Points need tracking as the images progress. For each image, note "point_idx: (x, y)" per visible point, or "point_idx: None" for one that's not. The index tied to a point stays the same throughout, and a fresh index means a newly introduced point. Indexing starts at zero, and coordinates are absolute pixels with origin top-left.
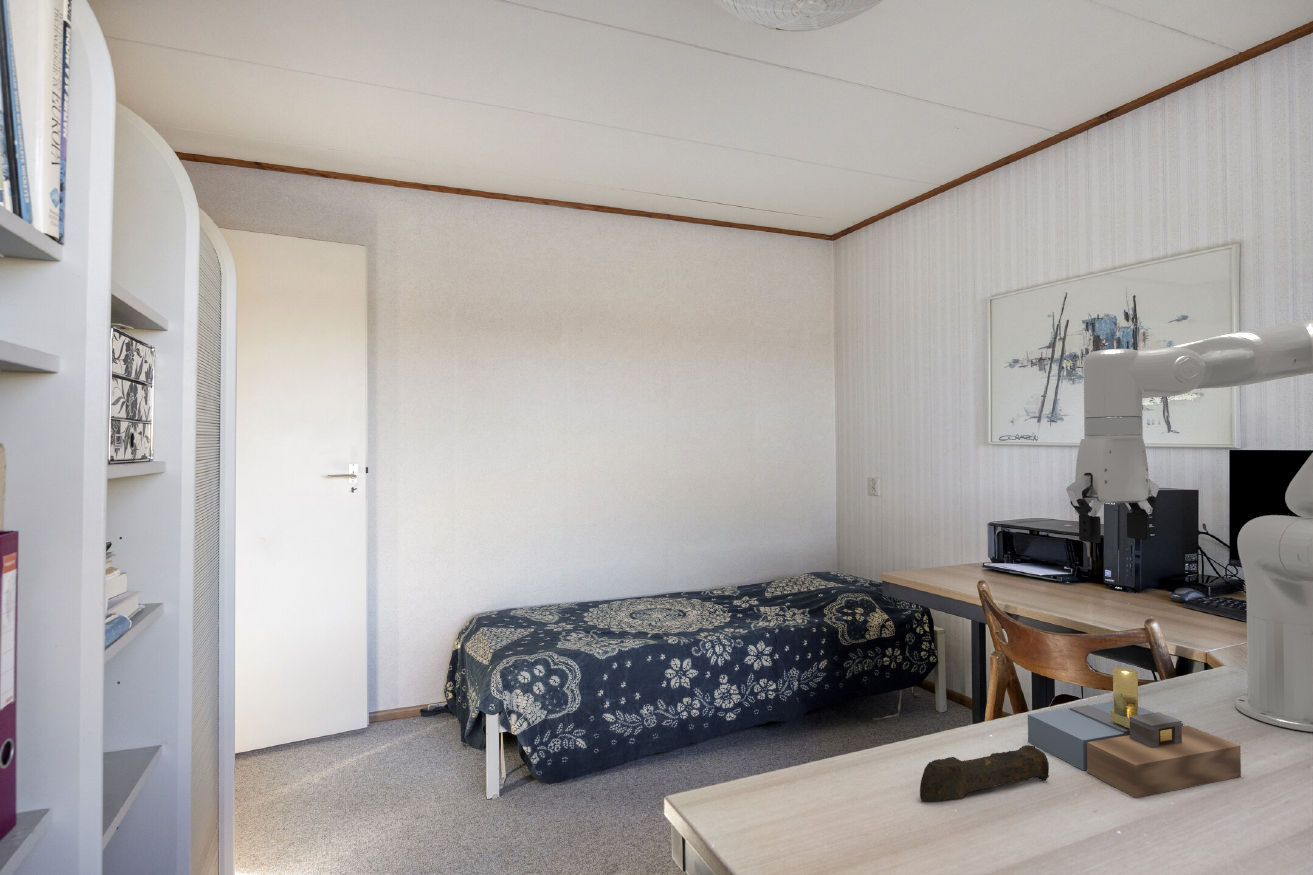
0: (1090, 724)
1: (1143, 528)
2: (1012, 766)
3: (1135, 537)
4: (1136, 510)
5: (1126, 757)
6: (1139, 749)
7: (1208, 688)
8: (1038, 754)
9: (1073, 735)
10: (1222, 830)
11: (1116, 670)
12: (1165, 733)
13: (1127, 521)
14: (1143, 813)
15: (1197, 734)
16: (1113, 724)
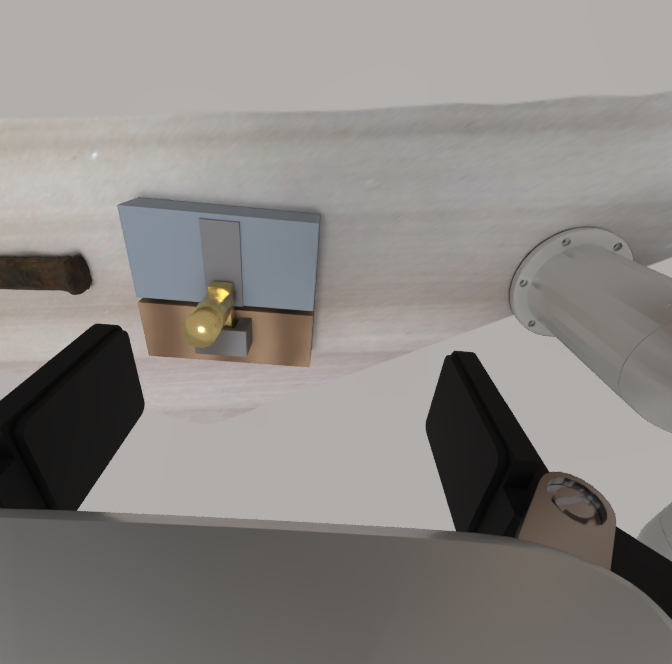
0: (186, 268)
1: (440, 463)
2: (23, 289)
3: (436, 391)
4: (496, 534)
5: (153, 342)
6: None
7: (635, 159)
8: (65, 289)
9: (134, 283)
10: (193, 389)
11: (182, 329)
12: None
13: (478, 414)
14: (148, 354)
15: (294, 335)
16: None
